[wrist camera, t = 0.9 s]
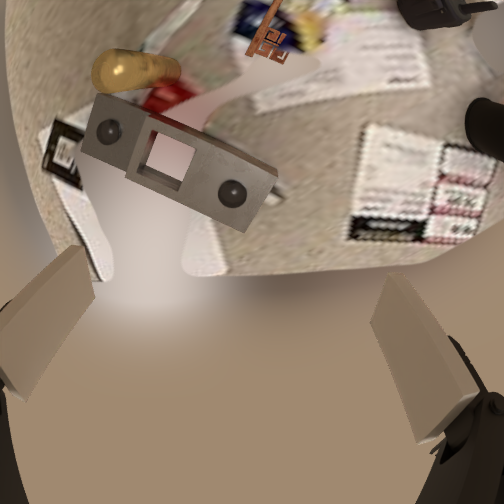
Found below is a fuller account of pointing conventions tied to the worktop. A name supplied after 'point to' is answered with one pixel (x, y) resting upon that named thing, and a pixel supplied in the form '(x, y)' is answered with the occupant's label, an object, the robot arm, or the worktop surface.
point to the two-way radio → (440, 12)
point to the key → (268, 37)
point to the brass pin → (133, 71)
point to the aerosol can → (486, 127)
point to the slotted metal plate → (199, 172)
